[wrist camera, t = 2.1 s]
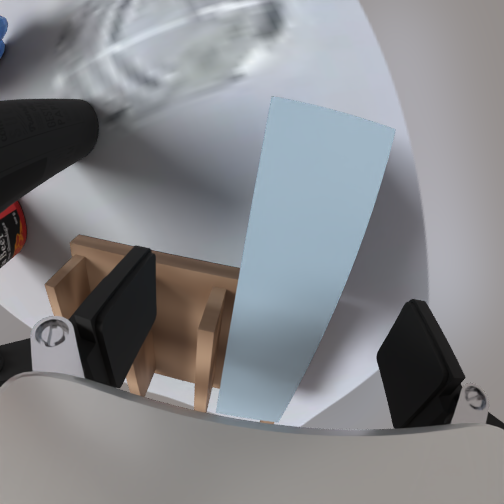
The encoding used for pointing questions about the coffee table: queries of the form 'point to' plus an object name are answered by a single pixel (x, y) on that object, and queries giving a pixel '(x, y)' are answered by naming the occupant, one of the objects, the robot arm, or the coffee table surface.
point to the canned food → (11, 232)
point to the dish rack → (161, 313)
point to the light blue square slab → (298, 248)
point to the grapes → (2, 33)
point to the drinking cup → (41, 142)
